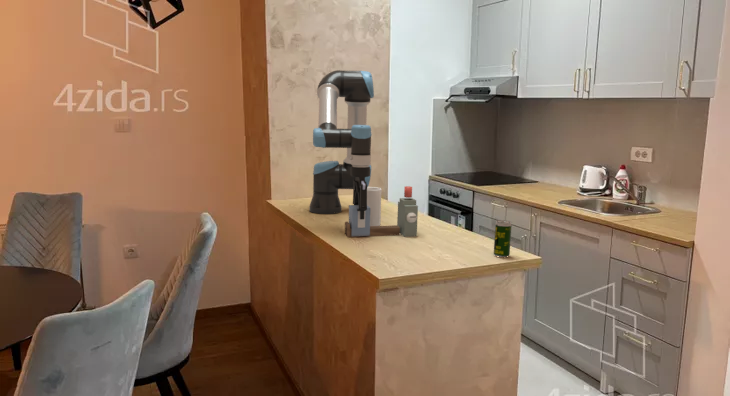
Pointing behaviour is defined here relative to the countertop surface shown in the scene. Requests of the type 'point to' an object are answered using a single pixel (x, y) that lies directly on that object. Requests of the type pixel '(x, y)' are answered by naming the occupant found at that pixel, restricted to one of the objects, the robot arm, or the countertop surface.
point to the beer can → (502, 238)
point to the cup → (374, 205)
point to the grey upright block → (407, 217)
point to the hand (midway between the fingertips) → (359, 225)
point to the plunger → (408, 192)
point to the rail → (376, 230)
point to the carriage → (354, 221)
